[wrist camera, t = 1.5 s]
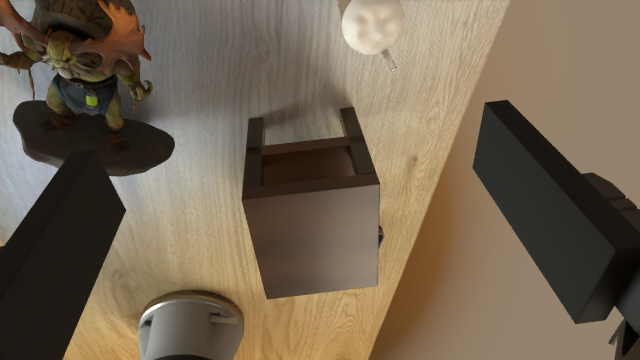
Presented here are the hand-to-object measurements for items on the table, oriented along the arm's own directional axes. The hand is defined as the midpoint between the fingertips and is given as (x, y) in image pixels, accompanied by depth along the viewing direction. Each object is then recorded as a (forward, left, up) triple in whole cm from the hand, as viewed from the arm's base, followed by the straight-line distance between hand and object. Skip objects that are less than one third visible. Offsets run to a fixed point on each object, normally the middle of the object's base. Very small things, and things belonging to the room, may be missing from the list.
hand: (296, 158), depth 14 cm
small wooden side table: (-19, 0, -26) cm, 32 cm away
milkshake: (-2, -6, -26) cm, 27 cm away
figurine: (-5, +17, -26) cm, 31 cm away
